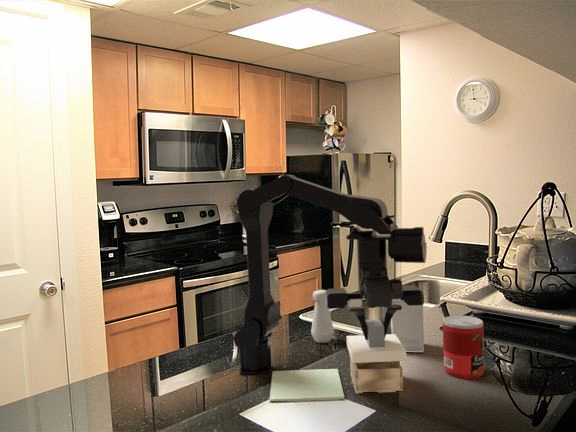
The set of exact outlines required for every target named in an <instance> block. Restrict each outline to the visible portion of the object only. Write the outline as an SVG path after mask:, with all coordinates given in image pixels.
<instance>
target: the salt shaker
mask: <svg viewBox="0 0 576 432" xmlns="http://www.w3.org/2000/svg"><path fill="white" fill-rule="evenodd" d="M327 290H328V289H327ZM327 290H326V289H318V290H315V291H313V292H312V299H313V301H315V303H314V309H313V315H312V316H313V317H312V321H311V322H312V323H311V330H310V334H311V336H312V338H313V340H314V342H317V343H318V344H326V343H329V342H331V341H332V339H333V336H334V325H333V321H332V316H331V312H330V308H327V305H326V296H325V292H326V291H327Z"/></svg>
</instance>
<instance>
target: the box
mask: <svg viewBox="0 0 576 432" xmlns="http://www.w3.org/2000/svg"><path fill="white" fill-rule="evenodd" d="M349 362H350V363H349V365H350V366H349V367H350V377H352V378H351V380H352V384H354V385H353V388H354V390H355V391H354V392H355V394H364V393H363V392H378V393H397V392H396V391H403V392H404V382H403V381H404V380H403V377H404V376H403V375H404V374H403V367H402V366H401V363H400V361H390V362H363V363H353V362H352V359H351V356H350V355H349Z"/></svg>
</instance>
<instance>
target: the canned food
mask: <svg viewBox="0 0 576 432" xmlns="http://www.w3.org/2000/svg"><path fill="white" fill-rule="evenodd" d="M484 332H485V331H484V321H483V320H482V319H480V318H478V317H475V316H471V315H457V314H456V315H448V316H445V317H444V318H443V320H442V336H443V337H442V344H443V367H444V370H445V373H447V374H448V373H449V374H450V375H449V374H448V375H449V376H451V375H452V377H454V376H455V377H454V378H458V377H459V378H458V379H466V380H471V379H473V380H474V379H478V378H481V377H482V376H483V374H484V372H485V347H484V346H485V343H484V342H485V341H484V340H485V339H484V335H485V333H484Z"/></svg>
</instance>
